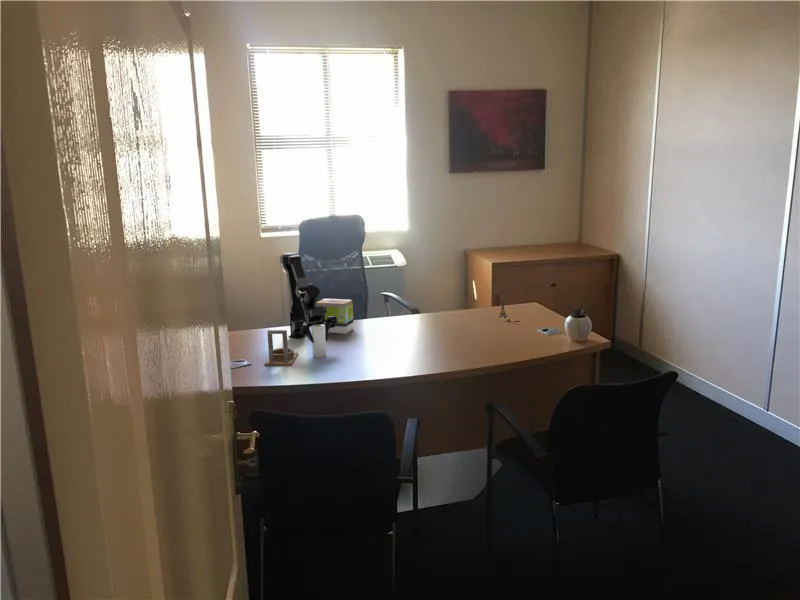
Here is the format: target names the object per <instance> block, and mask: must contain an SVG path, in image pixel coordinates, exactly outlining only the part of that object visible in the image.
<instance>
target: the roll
mask: <svg viewBox="0 0 800 600" xmlns="http://www.w3.org/2000/svg"><path fill="white" fill-rule="evenodd" d="M310 328H311V334H312V337H313V341H314V343H312V342H311V343H312V344H311V345H312V357H313V358H316V359H318V358H319V359H322V358H326V356H327V341H326V336H325V325H323V324H315V325H312V326H311V327H310Z"/></svg>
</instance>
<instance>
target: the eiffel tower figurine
mask: <svg viewBox="0 0 800 600" xmlns="http://www.w3.org/2000/svg"><path fill="white" fill-rule="evenodd" d="M504 298H505V297H504V296H502V302H501V309H500V310H501V311H500V313H499V318H500V317H504V318H506V317H508V315H507V314H506V311H505V304H504V303H505V302H504Z"/></svg>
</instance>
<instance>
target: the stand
mask: <svg viewBox="0 0 800 600" xmlns="http://www.w3.org/2000/svg"><path fill="white" fill-rule="evenodd" d="M266 333H267V343H268V344H267V347H268V358H267V360H266V361H265V362H264V367H286V366H287V367H289V366H290V367H292V366H293V365H294V362H295V361H297V358H298V356H299V352H294V350H293V348H290V347H289V346H288V330H287V329H268V330H267V331H266ZM273 335H282V347H281V348H274V342H273Z"/></svg>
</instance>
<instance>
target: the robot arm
mask: <svg viewBox="0 0 800 600" xmlns="http://www.w3.org/2000/svg"><path fill="white" fill-rule="evenodd" d="M279 263H280V264H281V267H282V269H283V270H284V271H285V272H286V276H287V283H288V290H289V297H290V306H289V308H288V314H287V317H286V324H287V325H289V328H290V329H289V330H290V335H288V338H292V339H302V338H304V337H306V338H307V339H308V340H309V341H310V342H311V343H314V341H313V337H312V331H311V329H310V328H311V326H312V325H315V324H323V325H325V336H326V342H328V337H329V336H328V335H329V332H328V330H329V329H330V328H334V327H335V326H336V324H337V321H338V320H337V317H336V316H329V317H327V319H326V320H323V321H321V319H322V315H323V314H325V313H327V310H326V307H325V306H321V307H320V308H317V306H316V302H318V301H319V297H320V294H321V290H320V288H318V287H317V286H315V285H314V283H312V282H311V281H310V280H309V279H307V276H306V273H305V270H304V268H303V263H302V258H301V254H298V253H296V252H284V253H282V254H281V255H280V257H279ZM301 299H302V300H301Z"/></svg>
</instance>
